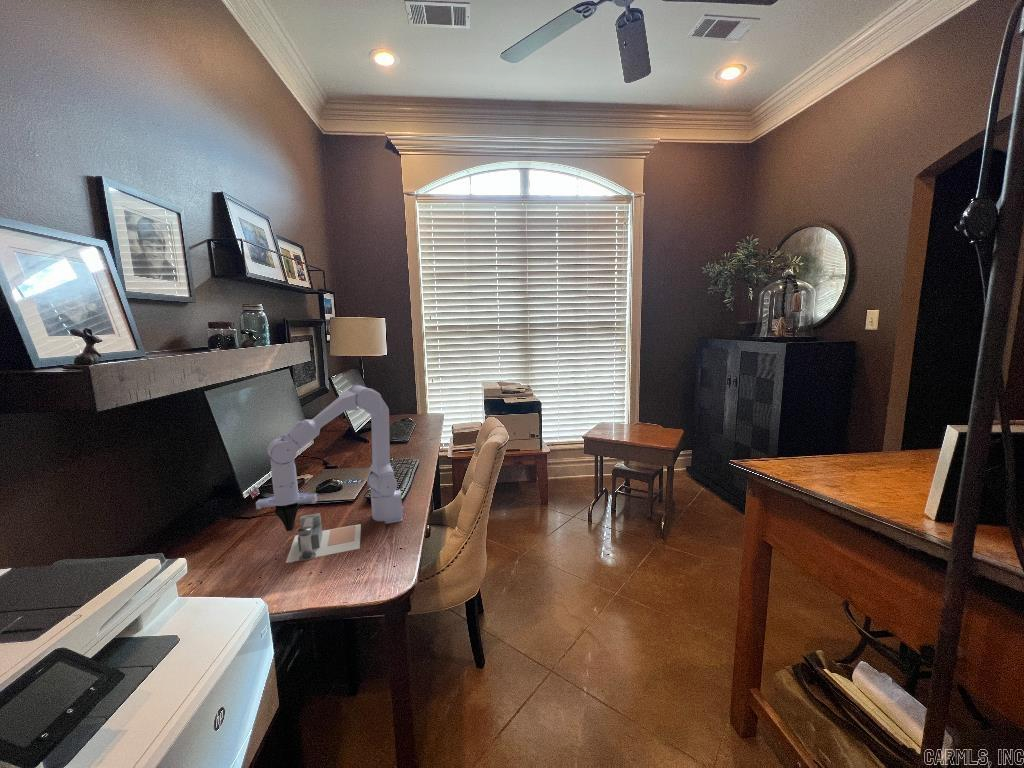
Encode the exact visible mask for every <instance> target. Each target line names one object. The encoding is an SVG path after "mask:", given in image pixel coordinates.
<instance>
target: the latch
mask: <svg viewBox="0 0 1024 768" xmlns="http://www.w3.org/2000/svg"><path fill="white" fill-rule="evenodd" d="M299 520H300V521H299V523H300V527H302V526H303V527H302V528H299V529H298V530H297V535H300V540H301V549H302V558H309V557H311V556H312V545H311V535H312V531H313V528H314V524H319V523H321V524H322V517H321V513H320V512H318V513H313V514H311V513H310V514H307V515H300V518H299Z"/></svg>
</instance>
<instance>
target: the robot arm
mask: <svg viewBox="0 0 1024 768" xmlns="http://www.w3.org/2000/svg"><path fill="white" fill-rule="evenodd" d="M358 407H359V408H360V409H362V410H364V411H365V412H366V413H367V414H369V415H370V417H371V419H370V420H371V423H370V424H371V459H372V460H371V461H372V464H371V465H370V467H369V473H368V475H367V479H366V482H367V485H368V486H369V487H370V488H371V490H370V502H371V503H370V504H371V516H372V520H374V521H376V522H384V525H388V524H392V523H398V522H399V523H400V522H403V521H404V519H403V517H404V516H403V515H404V514H403V512H404V506H403V503H402V502H403V501H402V493H401V492H402V491H401V490H400V489H397V487H398V481H397V479H396V477H395V471H394V469H393V466H392V464H391V450H390V448H391V446H390V443H391V442H390V409H389V407H388V405H387V404H386V402H385V401H384V399H383V398H382V395H381V393H379V392H378V391H377V390H375V389H373V388H368V387H365V386H363V385H360V384H355V385H353V386H351V387H350V388H349V389H348V390H345V391H343V392H342V393H341V394H340V395H339V396H338V397H337V398H336V399H335V400H333V401H332V402H331V403H330V404H329V405H327V406H326V407H325V408H324V409H323V410H321V411H320V412H319V413H318V414H317V415H316V416H314V417H313V418H312V419H308V418H307V419H303V420H302V421H301V420H298V421H297V422H296V423H295V426H294V427H292V428H291V429H289V431H286V433H282V434H280V435H279V436H280V437H279V438H275V439H273V440H272V441H270V443H269V444H268V446H267V449H266V453H267V455H268V456H269V457H270V466H271V468H270V471H271V472H270V473H271V481H272V489H273V496H270V497H266V498H259V499H258V500H257V501H256V502H255V509H256V510H261V509H262V508H271V507H275V509H274V514H275V515H276V516H277V517H278V518H279V519H280V521H281V522H282V524H283V526H284V528H285V530H286V532H293V530H294V529H295V522H296V518H297V514H298V511H299V508H300V505H301V504H309V503H311V504H316V503H317V501H318V495H317V493H302V492H301V493H299V487H298V476H297V469H296V468H297V467H296V463H295V458H296V456H297V453H298V451H300V450H301V449H303V448H304V447H306V446H307V445H308V444H309V443H310V442H312V441H313V440H315V439H316V438H317V437H318V436H319V435H320V432H321V429H322V428H323V427H324V426H326V425H327V424H328V423H330V422H331V421H333V420H334V419H336V418H337V417H339V415H341V414H343V413H344V412H347V411H358Z"/></svg>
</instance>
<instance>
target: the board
mask: <svg viewBox="0 0 1024 768" xmlns="http://www.w3.org/2000/svg"><path fill="white" fill-rule="evenodd" d="M361 530H362V524H361V523H359V524H355V525H354V524H352V525H347V526H341V527H336V528H331V529H324V530H322V539H321V544H320V548H315V549H312V556H311V557H309V558H302V551H299V544H298V536H299V535H298V534H297V535H294V538H293V540H292V544H291V547H290V549H289V552H288V555H287V557H286V560H285V564H290V563H294V562H298V561H300V562H307V561H311V560H312V559H314V558H319V557H323V556H324V557H325V556H329V555H334V554H340V553H343V552H345V553H346V552H349V551H355V550H359V549H361V532H362V531H361Z"/></svg>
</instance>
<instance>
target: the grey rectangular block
mask: <svg viewBox="0 0 1024 768" xmlns="http://www.w3.org/2000/svg"><path fill="white" fill-rule="evenodd" d="M300 527H301V528H302V527H303V526H300ZM322 531H323V527H322V522H321V523H319V524H314V528H313V531H312V535H311V545H312V549H315V548H320V544H321V539H322ZM298 544H299V551H302V549H301V540H300V535H299V536H298Z"/></svg>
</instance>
